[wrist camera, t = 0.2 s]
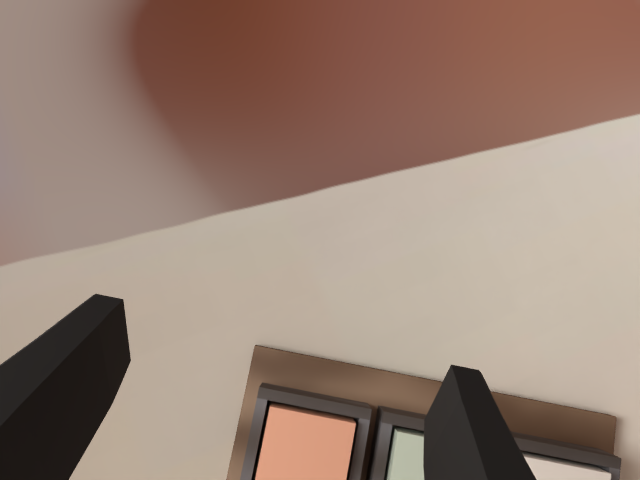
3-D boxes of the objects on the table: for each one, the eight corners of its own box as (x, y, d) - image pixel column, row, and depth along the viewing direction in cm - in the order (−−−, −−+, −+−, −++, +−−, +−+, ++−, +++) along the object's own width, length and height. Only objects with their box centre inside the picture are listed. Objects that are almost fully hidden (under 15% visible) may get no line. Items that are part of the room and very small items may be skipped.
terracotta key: (337, 506, 36) (339, 516, 34) (253, 489, 36) (251, 499, 34) (353, 418, 38) (355, 423, 36) (271, 402, 38) (269, 406, 36)
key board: (592, 597, 38) (623, 627, 35) (218, 523, 38) (208, 545, 35) (608, 414, 41) (639, 424, 37) (255, 345, 41) (251, 347, 37)
